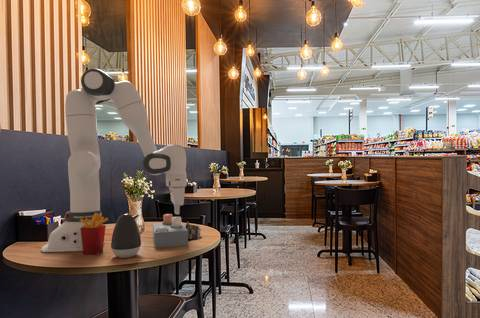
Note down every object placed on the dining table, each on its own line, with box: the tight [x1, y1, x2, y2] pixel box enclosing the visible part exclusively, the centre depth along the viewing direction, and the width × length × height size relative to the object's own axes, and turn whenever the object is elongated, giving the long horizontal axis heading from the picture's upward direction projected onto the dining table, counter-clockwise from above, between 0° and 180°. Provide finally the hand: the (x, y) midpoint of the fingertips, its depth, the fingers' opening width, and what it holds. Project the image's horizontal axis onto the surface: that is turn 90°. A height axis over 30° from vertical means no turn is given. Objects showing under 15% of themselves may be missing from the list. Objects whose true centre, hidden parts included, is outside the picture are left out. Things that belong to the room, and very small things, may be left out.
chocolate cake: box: [185, 220, 202, 241], centre depth 149 cm, size 10×7×12 cm
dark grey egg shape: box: [110, 213, 142, 259], centre depth 119 cm, size 10×10×15 cm
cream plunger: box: [172, 216, 182, 228], centre depth 143 cm, size 4×4×5 cm
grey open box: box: [152, 221, 189, 249], centre depth 143 cm, size 13×23×6 cm, turn 16°
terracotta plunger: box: [162, 213, 173, 225], centre depth 151 cm, size 4×4×5 cm
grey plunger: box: [157, 227, 167, 232], centre depth 135 cm, size 4×4×5 cm
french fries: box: [80, 213, 109, 256], centre depth 125 cm, size 9×8×15 cm
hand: (177, 214), depth 143 cm, fingers closed
